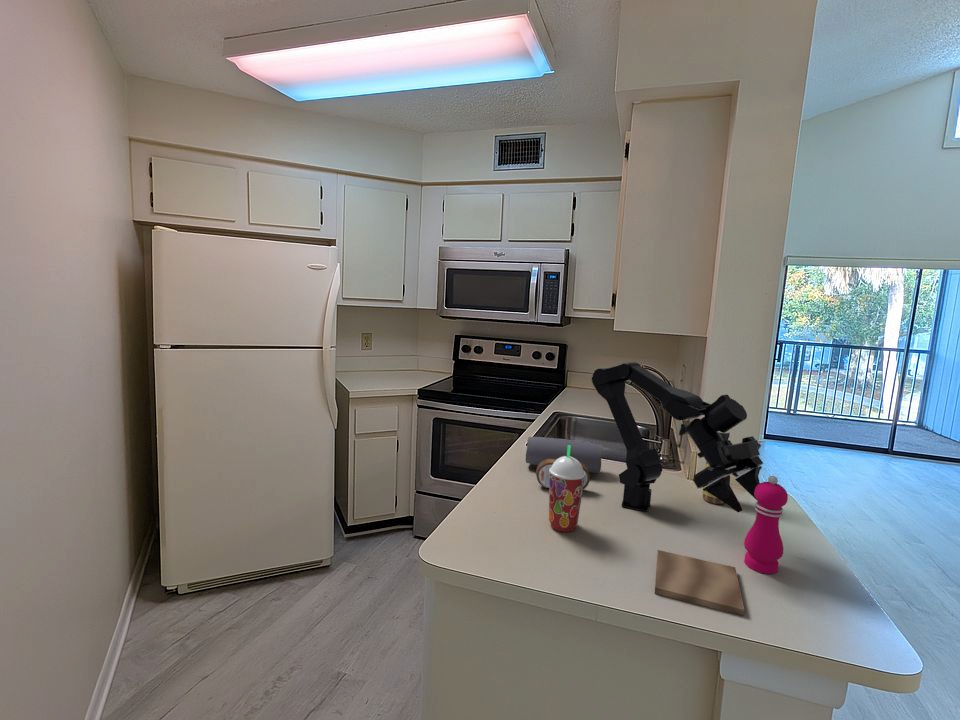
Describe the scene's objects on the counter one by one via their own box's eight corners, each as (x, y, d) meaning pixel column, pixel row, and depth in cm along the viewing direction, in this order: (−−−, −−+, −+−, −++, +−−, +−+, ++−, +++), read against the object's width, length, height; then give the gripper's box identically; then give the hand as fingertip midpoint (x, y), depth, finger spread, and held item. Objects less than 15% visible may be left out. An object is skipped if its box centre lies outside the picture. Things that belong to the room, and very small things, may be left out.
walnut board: (654, 593, 93) (655, 587, 93) (657, 555, 107) (658, 549, 107) (743, 616, 88) (744, 609, 88) (734, 572, 102) (735, 567, 102)
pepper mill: (734, 556, 108) (746, 469, 105) (765, 556, 109) (778, 469, 106) (755, 575, 101) (768, 482, 98) (788, 575, 102) (802, 483, 99)
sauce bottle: (729, 506, 134) (738, 436, 131) (704, 503, 135) (713, 433, 132) (722, 497, 141) (731, 429, 138) (699, 494, 142) (707, 426, 139)
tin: (588, 489, 141) (590, 461, 140) (589, 494, 138) (591, 465, 137) (535, 484, 143) (537, 456, 141) (535, 489, 139) (537, 460, 138)
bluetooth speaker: (599, 470, 157) (602, 439, 156) (599, 480, 148) (602, 448, 147) (528, 461, 162) (530, 431, 161) (524, 470, 153) (526, 439, 152)
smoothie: (584, 523, 120) (591, 444, 117) (575, 538, 113) (582, 454, 110) (550, 515, 124) (556, 437, 121) (540, 529, 116) (546, 447, 113)
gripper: (712, 429, 103) (759, 500, 95) (759, 420, 113) (805, 483, 106) (675, 455, 111) (716, 522, 103) (722, 444, 121) (763, 504, 113)
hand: (752, 507), depth 106 cm, fingers open, 9 cm apart
